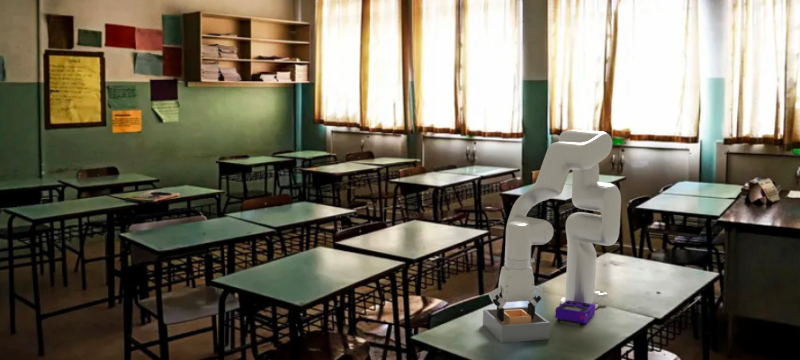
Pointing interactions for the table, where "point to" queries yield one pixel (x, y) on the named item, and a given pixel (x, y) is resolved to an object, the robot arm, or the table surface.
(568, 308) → the handheld gaming console
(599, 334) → the table surface
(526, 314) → the orange crate
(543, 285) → the table surface
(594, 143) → the robot arm
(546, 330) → the grey square tray
